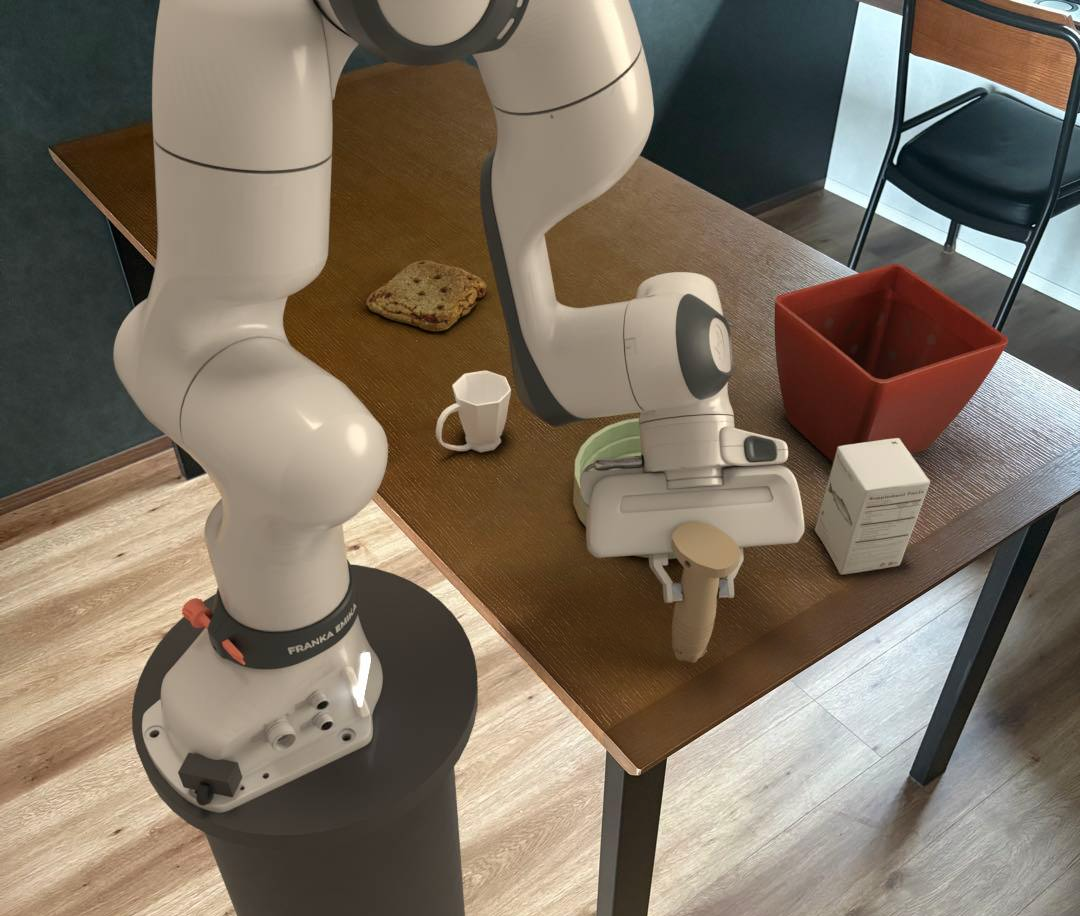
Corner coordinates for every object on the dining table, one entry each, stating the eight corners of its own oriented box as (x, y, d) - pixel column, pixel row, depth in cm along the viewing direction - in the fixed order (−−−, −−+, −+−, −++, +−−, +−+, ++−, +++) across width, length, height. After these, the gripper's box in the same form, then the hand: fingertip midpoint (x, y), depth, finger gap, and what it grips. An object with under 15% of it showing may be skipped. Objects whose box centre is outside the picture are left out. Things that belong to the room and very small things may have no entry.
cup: (523, 444, 132) (523, 390, 126) (456, 476, 127) (453, 422, 122) (489, 415, 136) (488, 362, 130) (422, 446, 131) (418, 392, 125)
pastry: (474, 264, 162) (474, 246, 160) (499, 327, 150) (499, 308, 148) (359, 277, 159) (357, 258, 157) (375, 342, 147) (373, 323, 145)
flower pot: (867, 373, 143) (899, 259, 132) (969, 456, 131) (1013, 339, 120) (748, 411, 137) (771, 296, 125) (844, 503, 125) (878, 384, 113)
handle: (679, 621, 110) (696, 514, 99) (728, 658, 106) (751, 550, 96) (647, 646, 107) (661, 538, 97) (696, 684, 104) (716, 577, 94)
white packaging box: (812, 530, 122) (835, 443, 113) (873, 522, 123) (901, 435, 114) (838, 577, 116) (864, 490, 108) (902, 567, 118) (933, 480, 109)
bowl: (661, 589, 115) (665, 556, 111) (538, 498, 125) (539, 465, 121) (774, 507, 124) (781, 474, 121) (652, 429, 134) (655, 396, 131)
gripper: (582, 456, 97) (594, 610, 97) (804, 442, 98) (815, 593, 98) (573, 462, 103) (584, 607, 103) (782, 448, 105) (793, 590, 105)
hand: (699, 600), depth 101 cm, fingers closed on handle, 3 cm apart
